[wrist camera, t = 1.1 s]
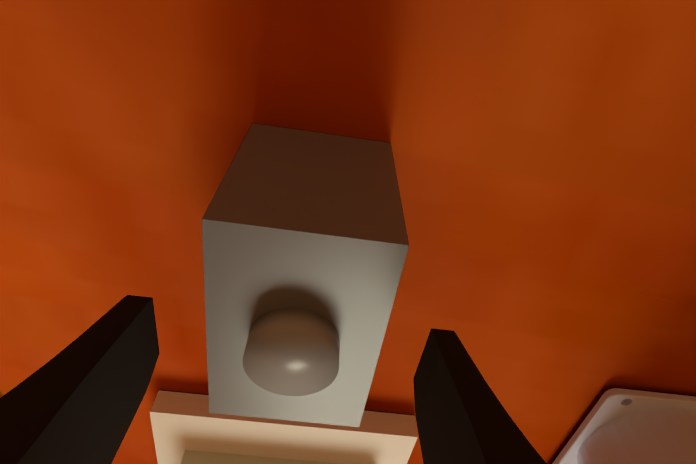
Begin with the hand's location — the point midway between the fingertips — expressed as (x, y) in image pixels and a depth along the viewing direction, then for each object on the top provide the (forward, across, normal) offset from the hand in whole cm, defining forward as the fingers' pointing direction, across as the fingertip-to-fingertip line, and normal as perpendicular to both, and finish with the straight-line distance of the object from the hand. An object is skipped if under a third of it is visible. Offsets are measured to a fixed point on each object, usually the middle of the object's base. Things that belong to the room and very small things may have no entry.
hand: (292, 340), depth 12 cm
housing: (+6, 0, 0) cm, 6 cm away
